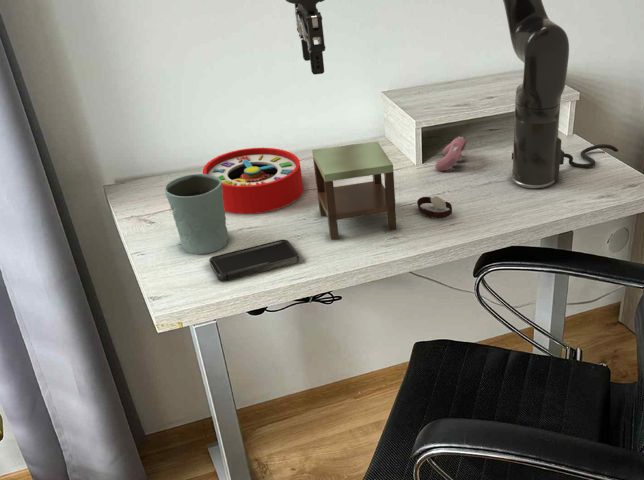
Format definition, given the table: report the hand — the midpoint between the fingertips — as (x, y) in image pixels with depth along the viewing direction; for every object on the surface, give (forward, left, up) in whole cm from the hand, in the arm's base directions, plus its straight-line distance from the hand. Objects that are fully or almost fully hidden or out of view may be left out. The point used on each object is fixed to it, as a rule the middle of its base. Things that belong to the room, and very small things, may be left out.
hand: (313, 66), depth 148 cm
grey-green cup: (+25, +5, -29) cm, 39 cm away
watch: (-20, +8, -29) cm, 36 cm away
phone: (+17, +16, -29) cm, 37 cm away
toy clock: (+13, -14, -29) cm, 35 cm away
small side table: (-4, +6, -29) cm, 30 cm away
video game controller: (-31, -14, -29) cm, 45 cm away
